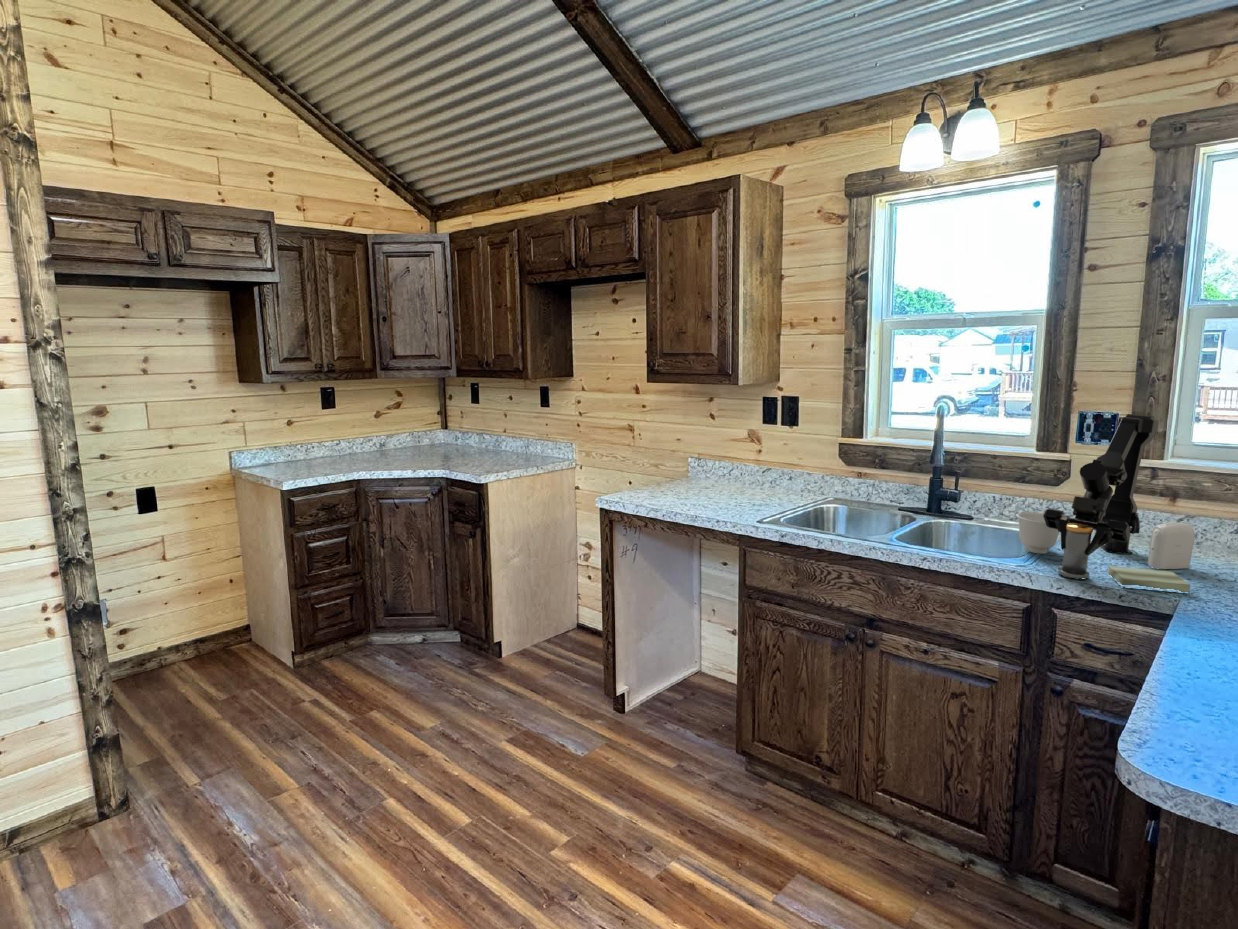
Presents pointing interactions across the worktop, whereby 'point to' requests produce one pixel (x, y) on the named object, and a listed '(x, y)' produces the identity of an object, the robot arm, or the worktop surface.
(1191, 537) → the photo printer
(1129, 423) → the robot arm
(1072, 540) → the cylinder
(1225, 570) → the worktop surface
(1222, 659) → the worktop surface
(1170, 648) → the worktop surface
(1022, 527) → the teacup
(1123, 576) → the stand
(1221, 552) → the worktop surface
